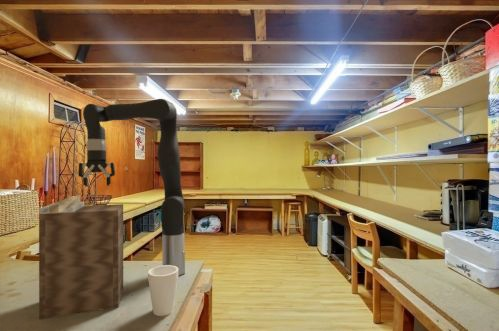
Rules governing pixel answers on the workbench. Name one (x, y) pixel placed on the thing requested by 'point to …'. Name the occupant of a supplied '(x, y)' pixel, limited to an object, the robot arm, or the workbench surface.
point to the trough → (71, 209)
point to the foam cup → (163, 288)
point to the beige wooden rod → (63, 204)
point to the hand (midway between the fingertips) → (97, 186)
